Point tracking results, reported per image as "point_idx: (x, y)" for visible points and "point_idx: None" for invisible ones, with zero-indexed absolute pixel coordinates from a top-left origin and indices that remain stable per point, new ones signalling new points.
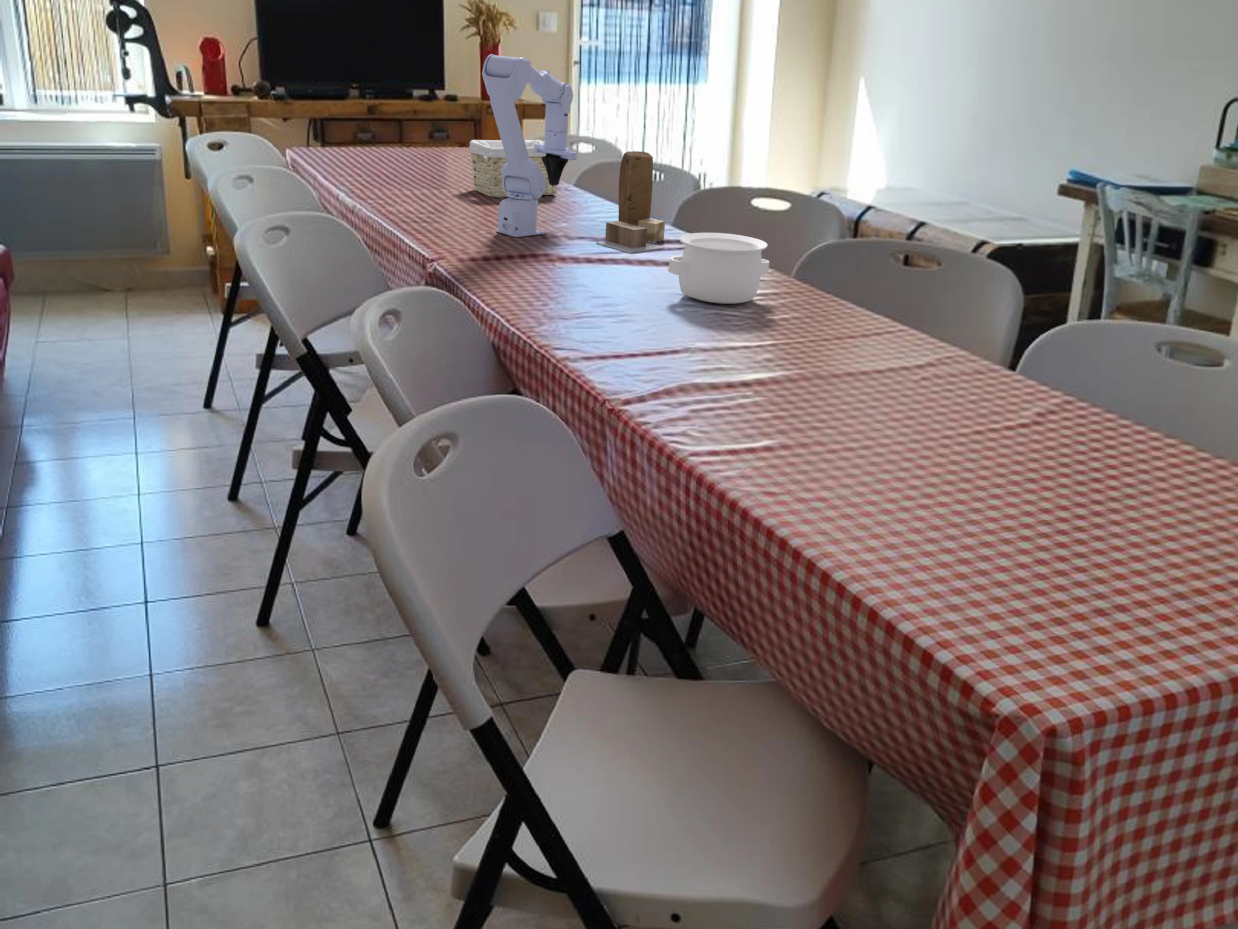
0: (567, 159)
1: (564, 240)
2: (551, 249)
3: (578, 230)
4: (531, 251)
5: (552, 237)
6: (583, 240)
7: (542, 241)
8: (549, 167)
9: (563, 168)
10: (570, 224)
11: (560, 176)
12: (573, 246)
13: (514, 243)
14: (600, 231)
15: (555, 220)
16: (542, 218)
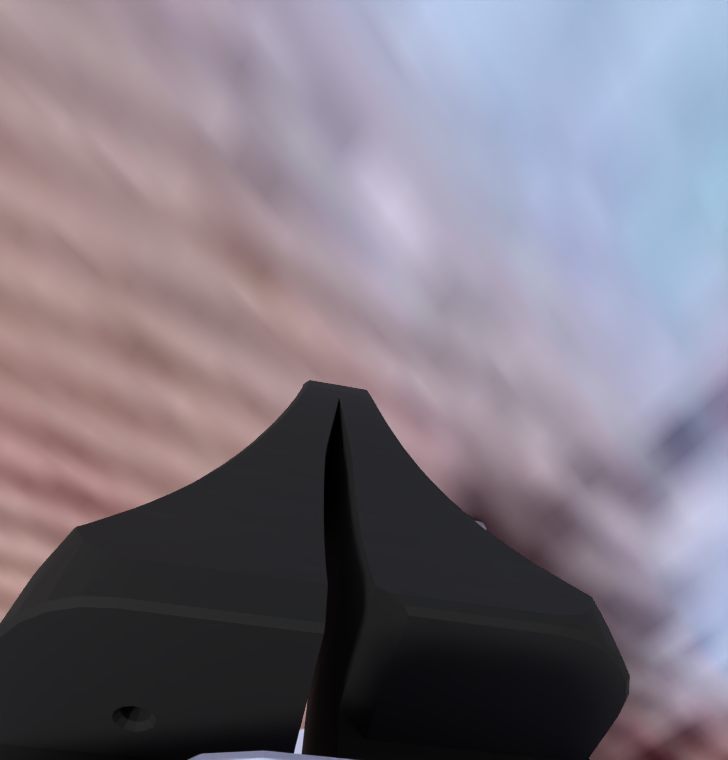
0: (619, 681)
1: (632, 538)
2: (665, 677)
3: (568, 286)
4: (618, 733)
5: (552, 533)
6: (713, 474)
7: None
8: (311, 688)
9: (459, 516)
10: (416, 157)
11: (396, 441)
12: (721, 591)
13: None
14: (706, 183)
15: (246, 126)
16: (136, 150)
